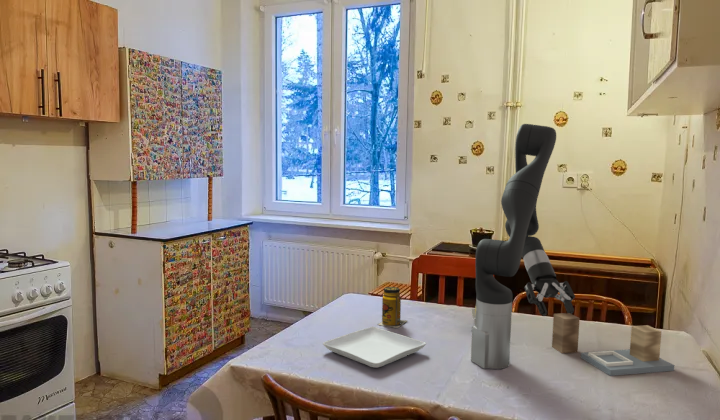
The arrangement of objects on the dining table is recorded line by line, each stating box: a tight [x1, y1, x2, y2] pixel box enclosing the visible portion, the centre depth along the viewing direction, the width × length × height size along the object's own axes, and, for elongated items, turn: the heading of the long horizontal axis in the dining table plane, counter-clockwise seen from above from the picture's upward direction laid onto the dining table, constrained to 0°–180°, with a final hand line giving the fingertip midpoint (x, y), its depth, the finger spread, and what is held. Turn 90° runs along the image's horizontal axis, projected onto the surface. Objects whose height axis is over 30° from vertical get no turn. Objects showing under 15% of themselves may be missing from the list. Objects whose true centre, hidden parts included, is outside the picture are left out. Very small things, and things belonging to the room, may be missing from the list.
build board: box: [580, 348, 676, 377], centre depth 138 cm, size 19×12×2 cm, turn 101°
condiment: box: [377, 286, 408, 329], centre depth 169 cm, size 7×8×12 cm
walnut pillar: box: [551, 312, 581, 354], centre depth 148 cm, size 5×5×10 cm
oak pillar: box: [629, 324, 662, 362], centre depth 139 cm, size 5×5×8 cm
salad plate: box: [322, 326, 427, 368], centre depth 143 cm, size 21×21×3 cm
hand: (558, 314), depth 151 cm, fingers open, 8 cm apart
